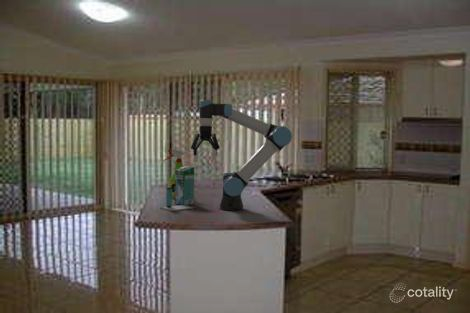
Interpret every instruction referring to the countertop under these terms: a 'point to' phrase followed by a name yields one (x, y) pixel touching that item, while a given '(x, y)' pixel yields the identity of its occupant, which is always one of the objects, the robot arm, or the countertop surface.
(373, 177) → the countertop surface
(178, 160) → the spray bottle
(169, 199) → the teal and grey cylinder
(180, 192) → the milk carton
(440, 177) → the countertop surface
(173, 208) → the writing board
